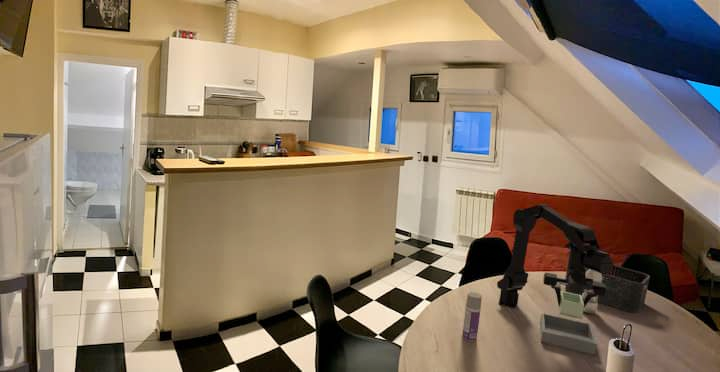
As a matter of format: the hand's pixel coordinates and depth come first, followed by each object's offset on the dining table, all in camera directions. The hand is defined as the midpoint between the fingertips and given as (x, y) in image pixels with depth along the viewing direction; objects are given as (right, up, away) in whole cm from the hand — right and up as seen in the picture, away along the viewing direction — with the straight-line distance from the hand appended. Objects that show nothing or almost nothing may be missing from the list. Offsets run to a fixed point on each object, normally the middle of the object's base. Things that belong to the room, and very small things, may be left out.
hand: (570, 308), depth 139 cm
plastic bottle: (+20, -9, +25) cm, 34 cm away
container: (-35, -9, -4) cm, 37 cm away
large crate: (-1, -11, +2) cm, 11 cm away
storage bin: (+37, -8, +43) cm, 58 cm away
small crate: (0, -1, 0) cm, 1 cm away
